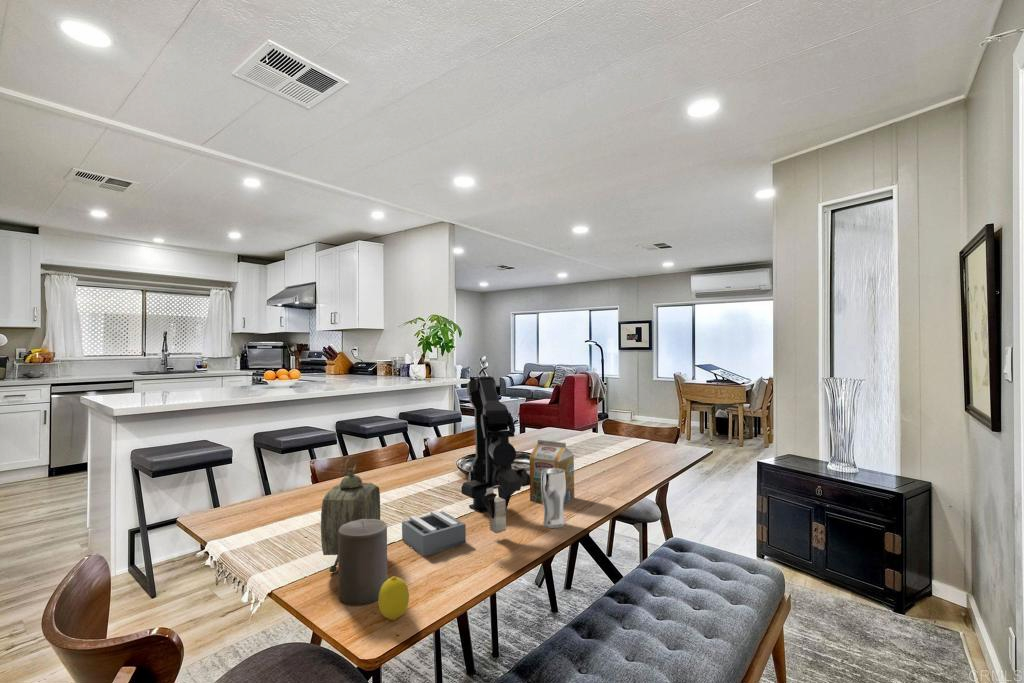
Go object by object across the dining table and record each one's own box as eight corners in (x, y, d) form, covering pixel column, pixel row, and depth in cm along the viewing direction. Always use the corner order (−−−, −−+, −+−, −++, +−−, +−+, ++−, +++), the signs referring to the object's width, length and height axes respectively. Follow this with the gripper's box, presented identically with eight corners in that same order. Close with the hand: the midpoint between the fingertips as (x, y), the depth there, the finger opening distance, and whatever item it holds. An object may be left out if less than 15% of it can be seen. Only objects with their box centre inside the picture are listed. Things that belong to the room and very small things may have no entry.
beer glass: (565, 529, 128) (564, 474, 128) (540, 528, 129) (539, 473, 129) (567, 520, 135) (566, 468, 135) (543, 518, 136) (542, 467, 136)
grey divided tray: (402, 540, 122) (401, 518, 122) (442, 529, 130) (442, 508, 130) (423, 557, 113) (422, 532, 113) (465, 543, 120) (465, 520, 120)
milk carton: (530, 501, 152) (529, 442, 152) (546, 492, 160) (545, 436, 160) (558, 507, 146) (557, 446, 146) (574, 497, 154) (573, 439, 154)
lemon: (381, 612, 90) (381, 570, 90) (411, 610, 90) (410, 568, 90) (375, 629, 84) (375, 585, 84) (407, 627, 85) (406, 583, 85)
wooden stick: (489, 529, 123) (489, 499, 123) (499, 527, 124) (498, 496, 125) (496, 533, 120) (496, 502, 120) (505, 530, 122) (505, 499, 122)
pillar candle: (341, 611, 90) (341, 533, 90) (335, 587, 99) (335, 516, 99) (392, 598, 95) (392, 524, 95) (382, 577, 103) (382, 509, 103)
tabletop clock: (346, 549, 118) (345, 449, 118) (382, 548, 118) (380, 449, 118) (321, 577, 103) (319, 464, 104) (362, 577, 103) (360, 464, 103)
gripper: (484, 469, 110) (485, 535, 110) (543, 456, 122) (544, 516, 122) (459, 460, 119) (460, 521, 119) (517, 449, 131) (518, 505, 131)
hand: (497, 516), depth 122 cm, fingers closed on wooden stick, 3 cm apart
